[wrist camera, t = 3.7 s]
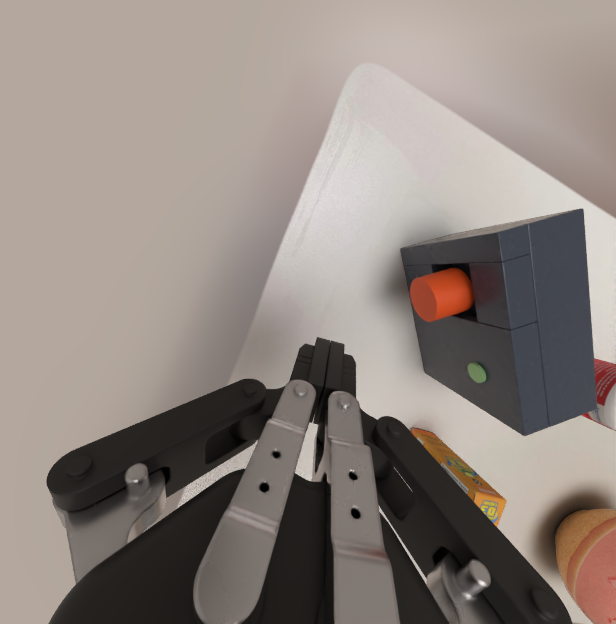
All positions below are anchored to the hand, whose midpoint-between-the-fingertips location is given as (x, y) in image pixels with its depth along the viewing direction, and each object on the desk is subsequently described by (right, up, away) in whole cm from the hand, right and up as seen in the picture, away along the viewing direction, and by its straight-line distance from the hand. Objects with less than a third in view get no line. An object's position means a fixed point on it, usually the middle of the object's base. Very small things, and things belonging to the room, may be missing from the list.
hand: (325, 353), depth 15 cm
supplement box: (+12, -13, +17) cm, 24 cm away
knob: (+9, +4, +9) cm, 13 cm away
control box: (+13, +3, +15) cm, 20 cm away
